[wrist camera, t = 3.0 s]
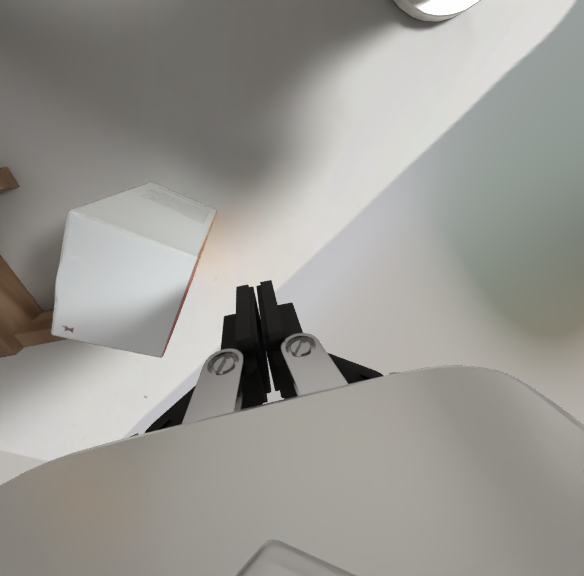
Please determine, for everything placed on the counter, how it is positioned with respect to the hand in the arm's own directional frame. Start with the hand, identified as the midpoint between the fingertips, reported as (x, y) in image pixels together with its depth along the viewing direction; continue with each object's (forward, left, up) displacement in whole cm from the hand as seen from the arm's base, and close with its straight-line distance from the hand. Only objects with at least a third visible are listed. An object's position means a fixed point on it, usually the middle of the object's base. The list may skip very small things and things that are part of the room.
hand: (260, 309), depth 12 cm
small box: (+8, 0, -17) cm, 18 cm away
